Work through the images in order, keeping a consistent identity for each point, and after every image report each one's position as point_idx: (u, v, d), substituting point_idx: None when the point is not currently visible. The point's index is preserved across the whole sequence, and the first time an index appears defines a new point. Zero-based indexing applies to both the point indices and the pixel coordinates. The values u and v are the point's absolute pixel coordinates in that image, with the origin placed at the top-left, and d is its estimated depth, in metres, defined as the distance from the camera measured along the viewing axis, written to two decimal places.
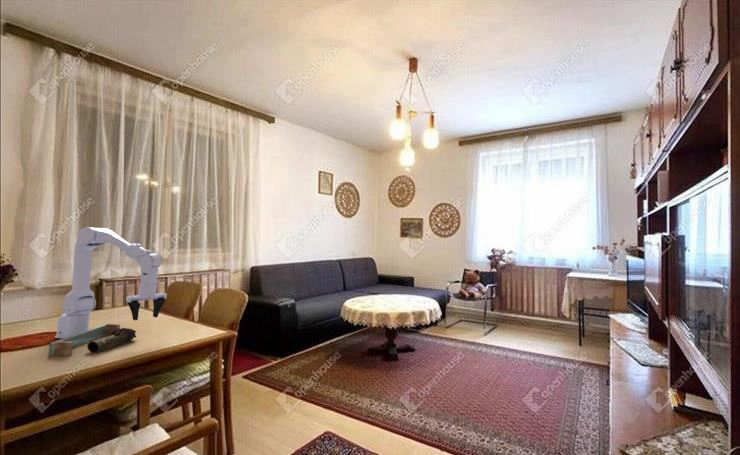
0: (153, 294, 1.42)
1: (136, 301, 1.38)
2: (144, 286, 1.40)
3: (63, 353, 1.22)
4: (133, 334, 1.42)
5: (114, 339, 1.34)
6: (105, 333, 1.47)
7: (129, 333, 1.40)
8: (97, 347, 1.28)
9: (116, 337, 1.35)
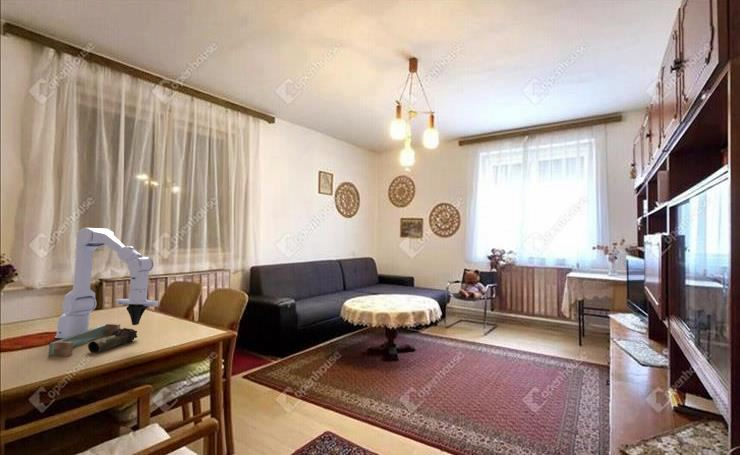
0: (135, 300, 1.34)
1: (123, 304, 1.36)
2: None
3: (63, 353, 1.22)
4: (134, 334, 1.42)
5: (115, 340, 1.33)
6: (105, 333, 1.47)
7: (130, 333, 1.40)
8: (98, 347, 1.28)
9: (117, 337, 1.34)
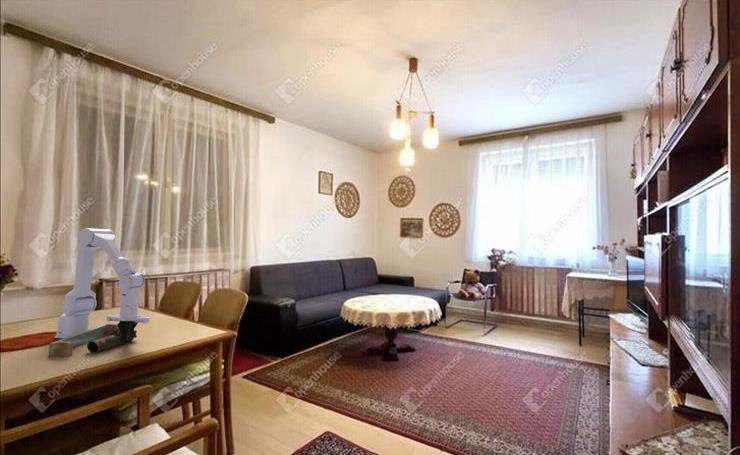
0: (126, 316, 1.34)
1: None
2: (120, 307, 1.35)
3: (63, 353, 1.22)
4: (134, 334, 1.42)
5: (114, 339, 1.33)
6: (105, 333, 1.47)
7: None
8: (97, 347, 1.28)
9: (116, 337, 1.34)
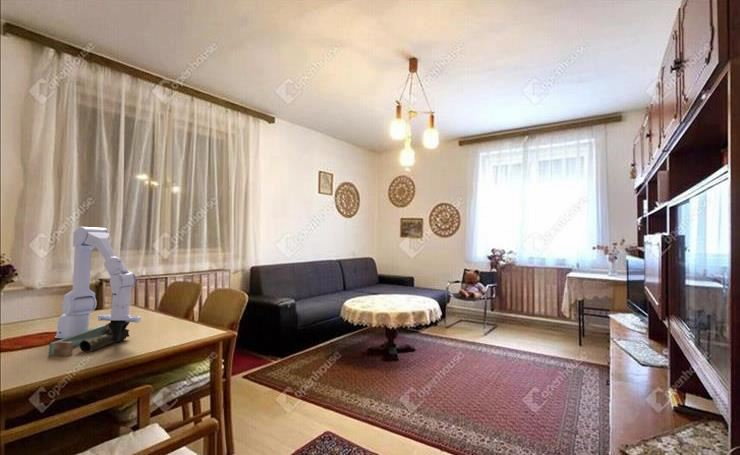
0: (117, 316, 1.34)
1: None
2: None
3: (63, 353, 1.22)
4: (126, 333, 1.42)
5: (107, 339, 1.33)
6: None
7: None
8: (89, 346, 1.28)
9: (109, 336, 1.35)
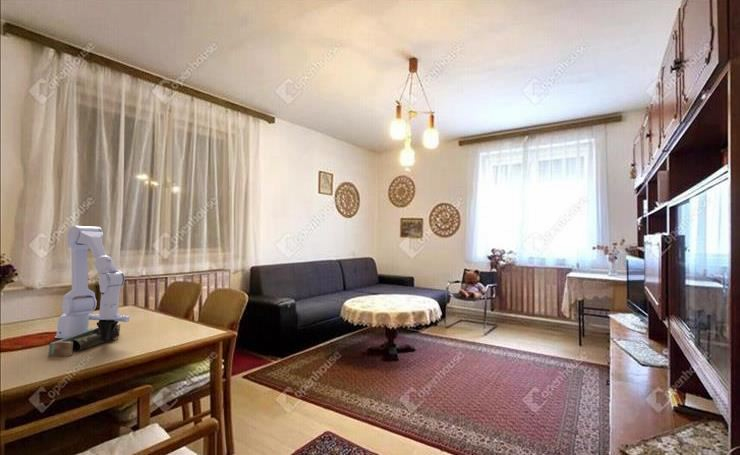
0: (105, 315, 1.33)
1: None
2: (100, 305, 1.34)
3: (63, 353, 1.22)
4: (116, 333, 1.43)
5: (97, 338, 1.34)
6: None
7: (112, 332, 1.40)
8: (79, 346, 1.28)
9: (98, 336, 1.35)
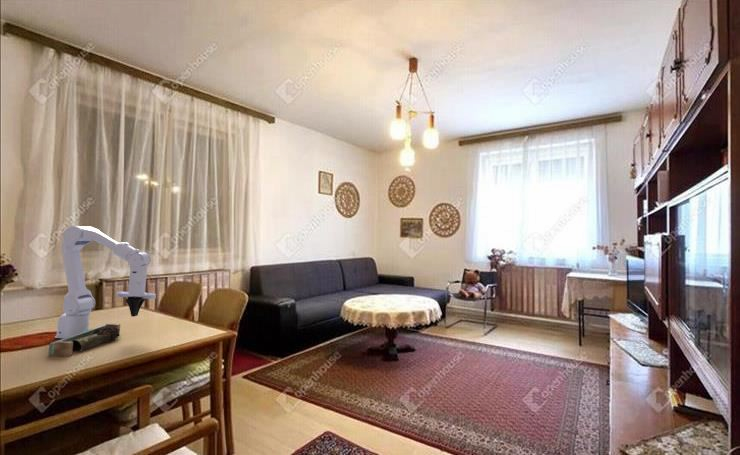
0: (134, 292, 1.42)
1: None
2: (129, 283, 1.43)
3: (63, 353, 1.22)
4: (116, 333, 1.42)
5: (97, 338, 1.34)
6: None
7: (112, 332, 1.40)
8: (79, 346, 1.28)
9: (99, 336, 1.35)
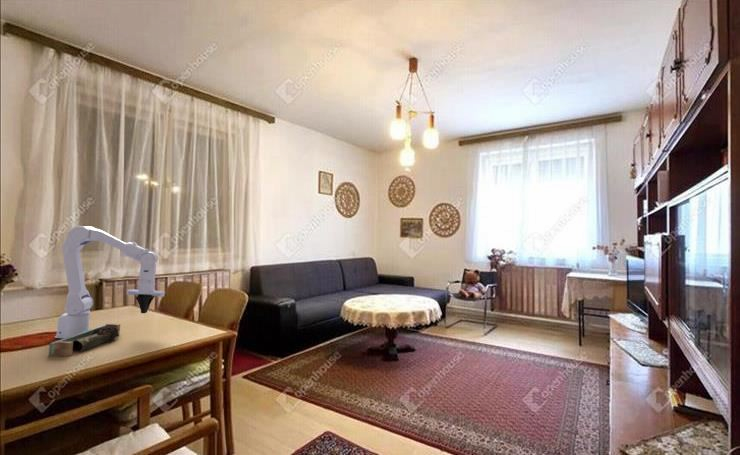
0: (144, 290, 1.48)
1: None
2: None
3: (63, 353, 1.22)
4: (116, 333, 1.43)
5: (98, 338, 1.34)
6: None
7: (112, 332, 1.40)
8: (80, 346, 1.28)
9: (99, 336, 1.35)
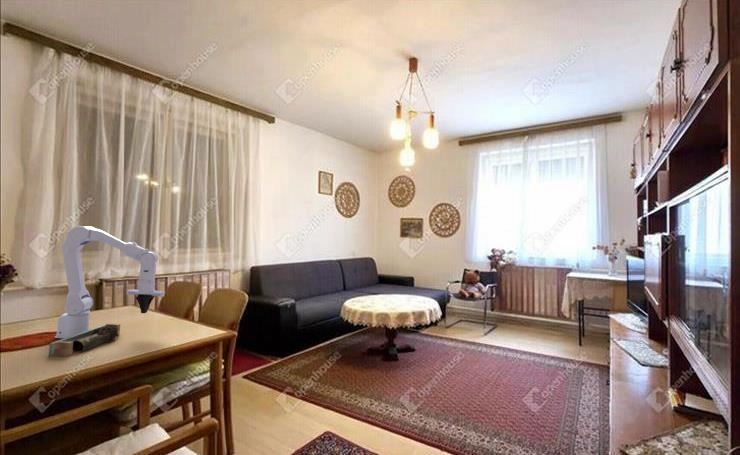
0: (144, 290, 1.48)
1: None
2: None
3: (63, 353, 1.22)
4: (115, 333, 1.43)
5: (98, 338, 1.34)
6: None
7: (112, 332, 1.40)
8: (81, 346, 1.28)
9: (99, 336, 1.35)
